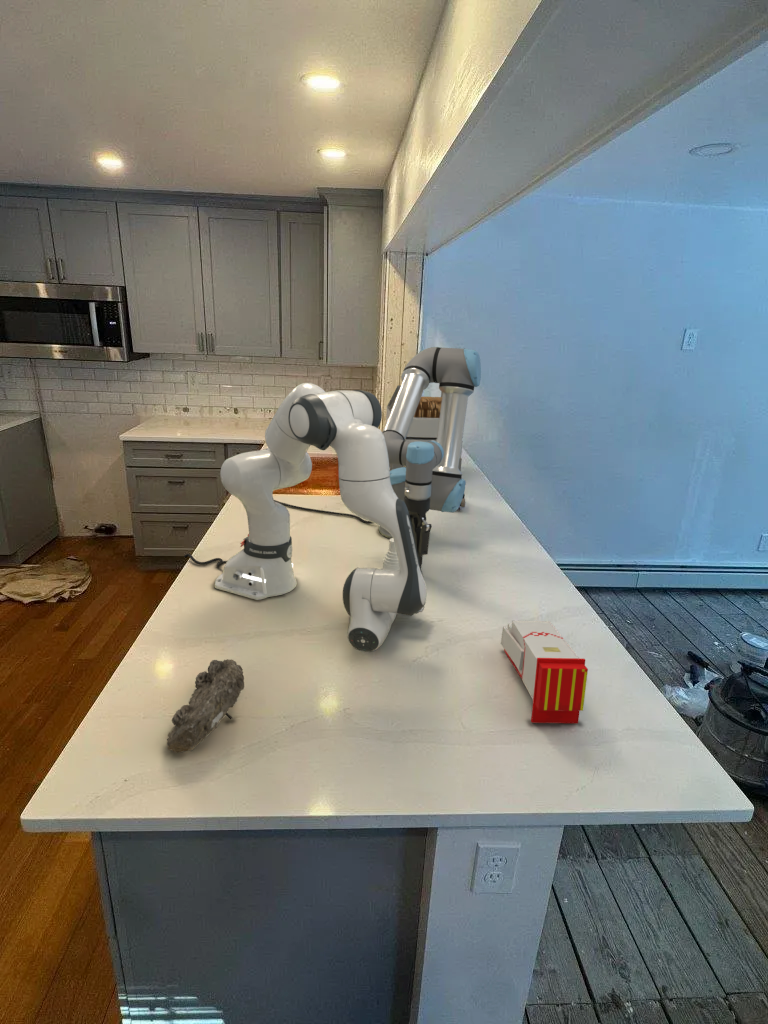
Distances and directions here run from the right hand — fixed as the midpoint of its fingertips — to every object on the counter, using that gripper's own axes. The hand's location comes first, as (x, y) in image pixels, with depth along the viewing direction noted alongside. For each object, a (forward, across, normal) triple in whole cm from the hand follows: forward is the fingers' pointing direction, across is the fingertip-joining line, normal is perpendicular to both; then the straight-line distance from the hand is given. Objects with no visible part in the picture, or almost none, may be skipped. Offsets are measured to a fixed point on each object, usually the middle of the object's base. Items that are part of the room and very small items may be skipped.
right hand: (412, 570), depth 170 cm
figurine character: (+1, -46, +48) cm, 66 cm away
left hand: (-5, +13, -14) cm, 20 cm away
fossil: (+1, +38, -67) cm, 77 cm away
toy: (+1, +56, -2) cm, 56 cm away
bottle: (+1, +14, -15) cm, 20 cm away
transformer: (+1, -94, +60) cm, 111 cm away
